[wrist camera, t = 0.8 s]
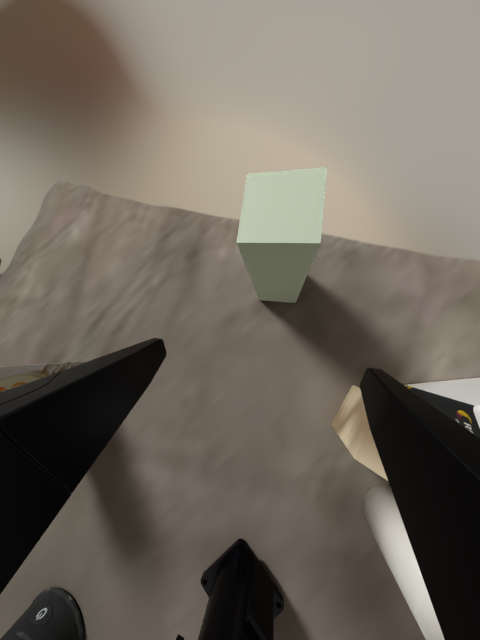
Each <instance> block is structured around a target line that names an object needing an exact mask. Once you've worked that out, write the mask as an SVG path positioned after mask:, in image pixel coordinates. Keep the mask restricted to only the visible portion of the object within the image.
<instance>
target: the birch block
mask: <svg viewBox="0 0 480 640" xmlns="http://www.w3.org/2000/svg"><path fill="white" fill-rule="evenodd" d="M331 425H332V427H333V428H334V430H335V431H336V433H337V434H338V435H339V437H340V438H341V440H342V441H343V443H344V444H345V446H346V447H347V448H348V450H349V451H350V453H351V454H352V456H353V457H354V459H356V460H357V461H359V462H360V463H362V464H363V465H365V466H366V467H368V468H369V469H371V470H372V471H374V472H375V473H377V474H378V475H380V476H381V477H383V478H384V479H386V480H387V481H388V479H387V476H386V473H385V470H384V468H383V465H382V462H381V459H380V456H379V454H378V451H377V448H376V445H375V442H374V440H373V437H372V434H371V431H370V427H369V424H368V420H367V415H366V411H365V407H364V403H363V398H362V394H361V390H360V388H358V387H356V386H354V385H352V387H351V389H350V391H349V392H348V394H347V396H346V398H345V400H344V402H343V404H342V405H341V407H340V409H339V411H338V413H337V415H336V417H335V418H334V420H333V422H332V424H331Z"/></svg>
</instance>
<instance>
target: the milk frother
mask: <svg viewBox="0 0 480 640" xmlns="http://www.w3.org/2000/svg"><path fill="white" fill-rule="evenodd" d="M0 640H84V637H83V627H82V620H81V616H80V612H79V610H78V608H77V605H76V603H75V602H74V600H73V599H72V598H71V596H70V595H69V594H67V593H66V592H65V591H63V590H62V589H59V588H49V589H46V590H45V591H43V592H41V593H40V594H39V595H38V596H37V597H36V598H35V600H34V601H33V603H32V604H31V606H30V607H29V608H28V609H27V610H26V611H25V612H24V614H23V615H22V616H21V617H20V618H19V619H18V620H17V621H16V622H15V623H14V625H13V626H12V627H11V628H10V629H9V630H8V631H7V632H6V633H5V634H4V636H3V637H2V638H1V639H0Z"/></svg>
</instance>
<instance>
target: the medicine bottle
mask: <svg viewBox="0 0 480 640" xmlns="http://www.w3.org/2000/svg"><path fill="white" fill-rule="evenodd" d="M405 386H406V387H407V388H409V389H410V390H411V391H413V392H414V393H416V394H417V395H419V396H420V397H421V398H423V399H424V400H426V401H427V402H429V403H430V404H432V405H433V406H434V407H436V408H437V409H439V410H440V411H442V412H443V413H445V414H446V415H447V416H449V417H450V418H452V419H453V420H455V421H456V422H457V423H459V424H460V425H462V426H463V427H465V428H466V429H468V430H469V431H470V432H472V433H473V434H475V435H476V436H478V437H479V438H480V378H470V379H460V380H449V381H439V382H429V383H418V384H408V385H405Z"/></svg>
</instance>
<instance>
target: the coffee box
mask: <svg viewBox="0 0 480 640" xmlns="http://www.w3.org/2000/svg"><path fill="white" fill-rule="evenodd" d="M86 362H88V361H80V362H68V363H52V364H34V365H20V366H4V367H0V392H2V391H5V390H8V389H11V388H14V387H17V386H20V385H23V384H26V383H29V382H32V381H35V380H38V379H41V378H44V377H47V376H49V375H52V374H55V373H58V372H62V371H63V370H66V369H69V368H72V367H75V366H77V365H80V364H83V363H86Z"/></svg>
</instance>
